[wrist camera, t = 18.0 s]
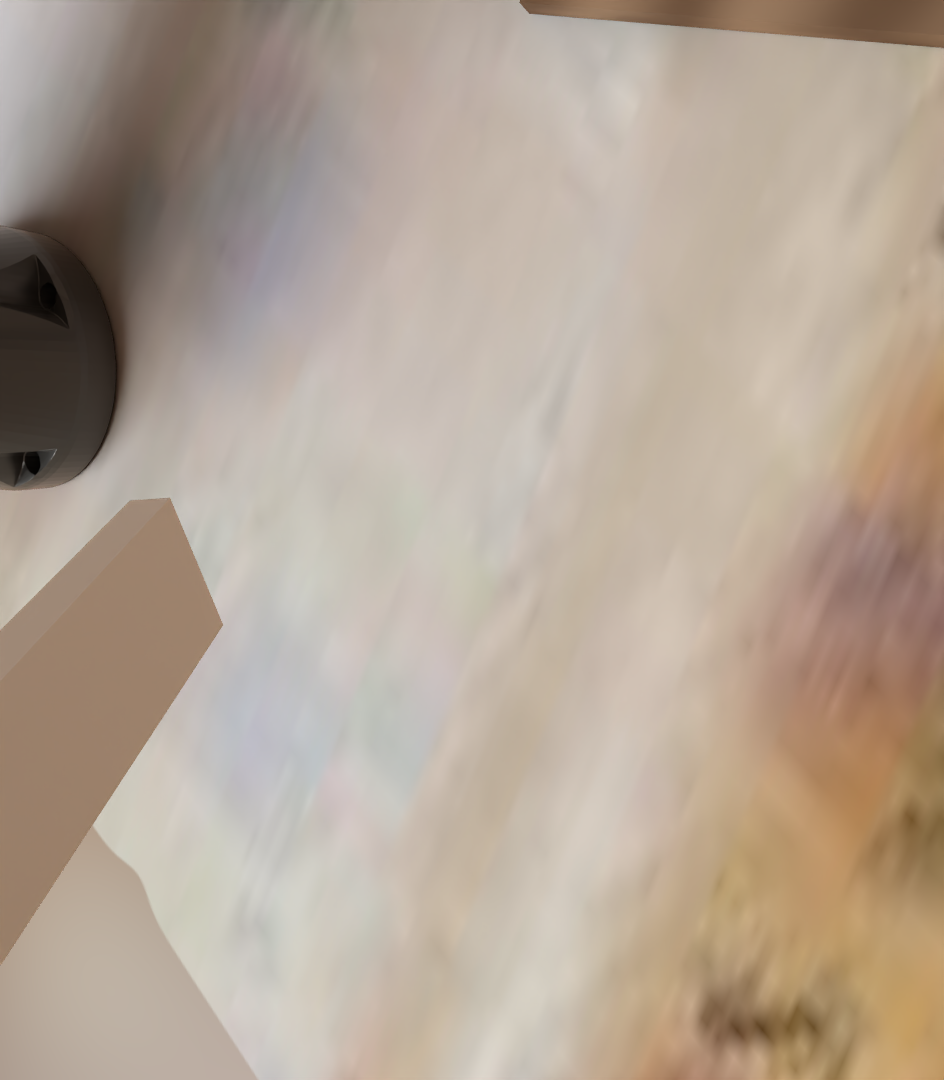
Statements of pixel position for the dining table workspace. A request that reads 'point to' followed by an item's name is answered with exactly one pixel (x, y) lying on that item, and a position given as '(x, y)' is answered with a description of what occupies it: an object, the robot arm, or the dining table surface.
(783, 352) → the dining table surface
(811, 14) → the board
